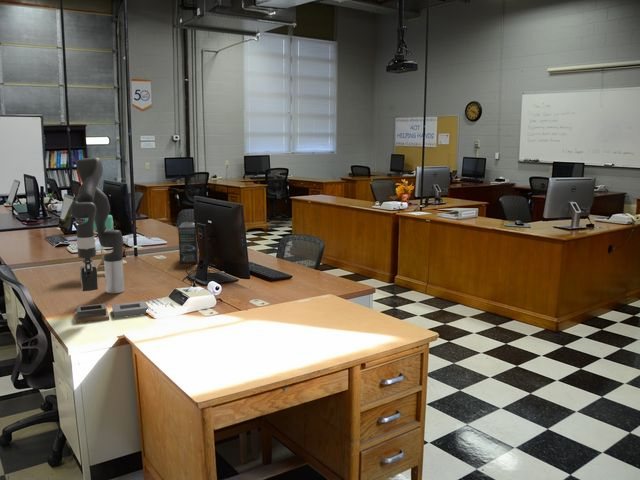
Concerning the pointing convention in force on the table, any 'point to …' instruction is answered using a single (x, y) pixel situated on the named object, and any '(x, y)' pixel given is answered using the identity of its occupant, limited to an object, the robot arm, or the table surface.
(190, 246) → the computer tower
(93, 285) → the battery
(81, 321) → the tray
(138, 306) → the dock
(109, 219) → the banker's lamp
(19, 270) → the table surface
